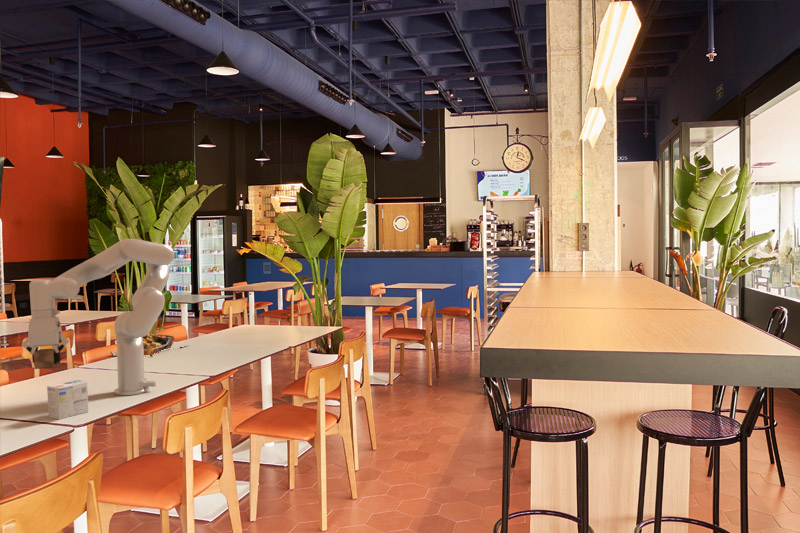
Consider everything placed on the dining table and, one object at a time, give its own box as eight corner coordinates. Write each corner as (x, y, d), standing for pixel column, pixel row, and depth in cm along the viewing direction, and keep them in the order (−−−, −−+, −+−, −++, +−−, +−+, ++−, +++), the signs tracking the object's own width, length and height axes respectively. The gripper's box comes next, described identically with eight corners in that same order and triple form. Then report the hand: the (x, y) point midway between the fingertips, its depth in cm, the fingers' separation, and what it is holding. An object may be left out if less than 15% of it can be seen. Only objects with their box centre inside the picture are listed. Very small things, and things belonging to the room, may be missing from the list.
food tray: (150, 345, 354) (149, 327, 353) (189, 346, 348) (189, 328, 348) (108, 357, 319) (108, 336, 319) (151, 358, 314) (151, 337, 313)
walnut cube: (59, 364, 222) (58, 348, 222) (53, 367, 216) (51, 351, 216) (41, 365, 221) (40, 349, 221) (34, 369, 215) (33, 352, 215)
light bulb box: (78, 409, 214) (76, 379, 213) (89, 412, 210) (88, 381, 210) (47, 417, 204) (46, 385, 204) (58, 420, 201) (57, 387, 201)
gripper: (73, 311, 223) (76, 360, 224) (21, 314, 220) (25, 363, 221) (65, 314, 216) (69, 364, 217) (12, 317, 213) (16, 367, 214)
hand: (47, 363), depth 219 cm, fingers closed on walnut cube, 6 cm apart
